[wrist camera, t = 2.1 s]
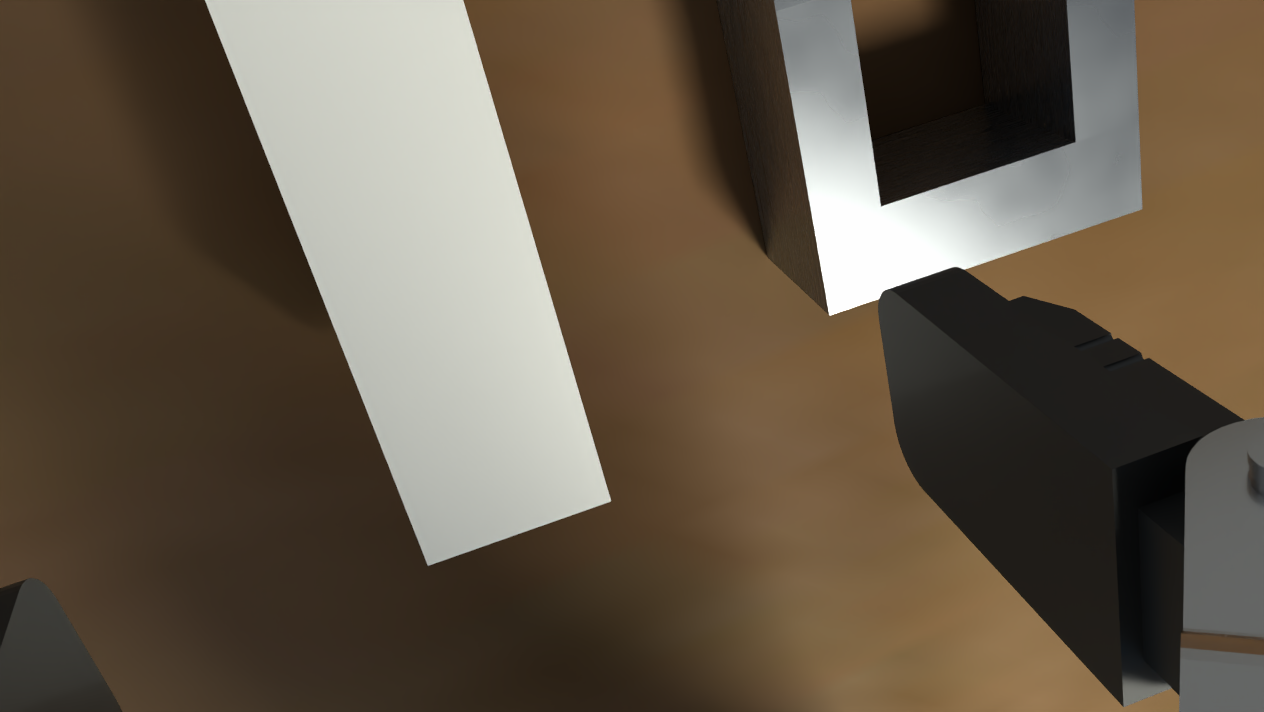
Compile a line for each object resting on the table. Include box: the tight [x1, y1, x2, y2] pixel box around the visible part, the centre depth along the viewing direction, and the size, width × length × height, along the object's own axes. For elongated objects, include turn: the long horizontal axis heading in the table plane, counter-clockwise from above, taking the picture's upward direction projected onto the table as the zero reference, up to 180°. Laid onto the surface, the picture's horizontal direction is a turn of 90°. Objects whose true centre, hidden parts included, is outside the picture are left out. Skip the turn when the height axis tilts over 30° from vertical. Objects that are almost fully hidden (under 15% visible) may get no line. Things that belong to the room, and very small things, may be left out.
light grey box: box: [205, 0, 611, 566], centre depth 21 cm, size 10×3×7 cm, turn 14°
